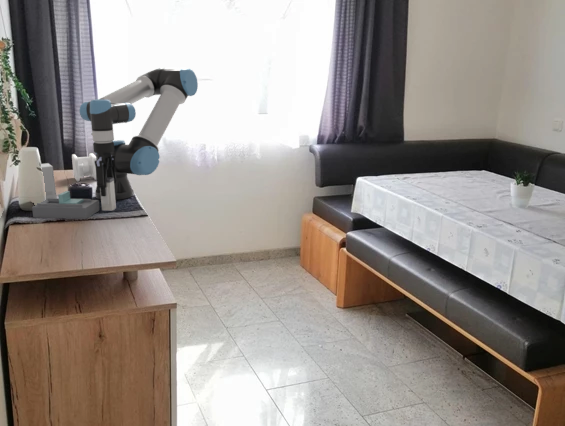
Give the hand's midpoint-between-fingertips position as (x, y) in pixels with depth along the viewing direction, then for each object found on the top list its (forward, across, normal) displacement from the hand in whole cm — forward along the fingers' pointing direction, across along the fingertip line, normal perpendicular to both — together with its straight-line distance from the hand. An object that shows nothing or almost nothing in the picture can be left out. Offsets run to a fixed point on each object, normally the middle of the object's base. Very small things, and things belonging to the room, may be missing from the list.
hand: (108, 201), depth 221 cm
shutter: (-1, +8, -11) cm, 14 cm away
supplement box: (+3, -9, -31) cm, 32 cm away
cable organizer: (+3, -55, -33) cm, 64 cm away
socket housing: (+3, +8, -13) cm, 16 cm away
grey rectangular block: (+3, 0, 0) cm, 3 cm away
